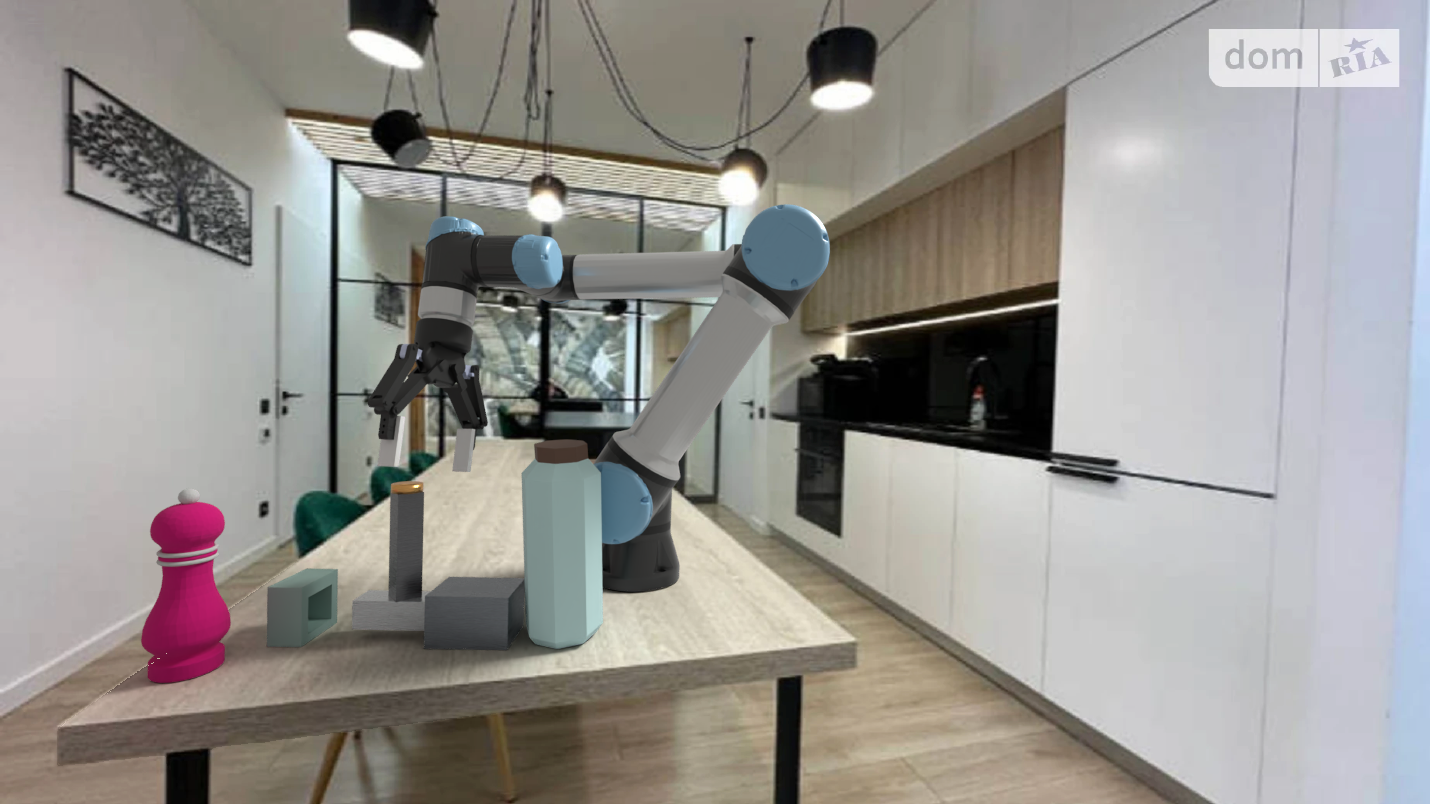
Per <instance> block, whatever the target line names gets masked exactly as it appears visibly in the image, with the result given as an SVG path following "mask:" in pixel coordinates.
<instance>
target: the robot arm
mask: <svg viewBox="0 0 1430 804" xmlns="http://www.w3.org/2000/svg"><path fill="white" fill-rule="evenodd" d="M829 238H830V237H829V233H828V231H827V229H826V227H825V225H824V224H823V222H822V221H821V219H820V218H818V216H817V215H816V214H814V213H813V212H812V211H810V210H809V209H806V208H805V207H803V206H800V205H795V204H789V203H788V204H786V203H785V204H784V203H783V204H777V205H773V206H769V207H768V208H766V209H763V210H762V211H760V212H759V213H757V215H755V217H754V218H753V219H752V220H751V221H750V222H749V224H748V225H747V227H746V229H745V231H744V234H743V235H742V239H741V243H733V244H731V245H730V246H729V247H728V248H727V249H726V250H702V251H700V250H699V251H664V252H657V251H656V252H629V253H627V252H626V253H624V252H622V253H621V252H620V253H619V252H618V253H587V254H586V253H584V254H582V253H581V254H580V253H579V254H562V251H561V249H560V247H559V245H558V242H557V240H555V239H554V238H553V237H551V236H544V235H536V234H531V233H530V234H529V233H528V234H524V235H523V234H522V235H515V234H514V235H499V234H498V235H490V234H489V235H487V234H486V235H485V233H484V230H483V229H482V228H481V227H480V226H479V225H478V224H477V223H475V222H473V221H472V220H470V219H466V218H459V217H456V216H448V215H447V216H445V215H444V216H441V217H437V218H435V219H434V220H433V221H432V223H431V224H430V228H429V232H428V238H427V241H426V243H425V247H424V248H425V249H424V250H425V257H424V268H423V276H422V277H423V278H422V284H421V289H420V295H419V296H420V297H419V303H418V311H417V316H418V318H420V319H419V320H417V321H416V323H415V324H416V325H415V331H414V332H415V333H414V339H413V343H400V344H399V343H398V345H397V346H396V349H395V353H394V358H393V360H392V361H391V363H390V364H389V366H388V368H387V369H386V371H385V373H384V374H383V376H382V377H381V379H380V381H379V382H378V384H376V387H375V389H374V390H373V391H372V394H370V396H369V398H368V399H367V406H368V407H370V408H373V412H374V414H376V415H378V416H380V418H379V426H378V434H377V435H378V439H379V440H380V443H379V444H380V445H379V451H378V457H377V458H378V459H377V467H378V466H379V467H396V468H397V467H400V461H401V460H400V459H401V453H402V447H403V446H402V445H403V439H404V432H405V431H404V430H405V423H406V416H403V415H400V414H401V413H402V412H403V411H404V409H405V408H406V407H407V406H408V405H410V404H411V402H412V401H413V400H414V399H415V398H416V397H417V395H418V394H419V393H420V392H422V391H423V389H425V387H426V386H427V385H431V386H432V385H433V386H435V387H437V388H438V389H439V388H441V389H442V391H443V392H445V394H447V396H448V398H449V401H450V402H451V405H452V407H453V410H454V412H455V415H456V417H457V419H458V422H459V424H460V426H461V428H456V434H455V435H456V437H455V444H454V445H455V446H454V454H453V460H452V461H453V462H452V472H456V473H457V472H460V473H471V472H472V471H471V470H472V464H473V463H472V462H473V453H474V450H475V448H476V440H477V431H478V430H483V429H484V428H486V427H488V425H489V424H488V423H489V421H488V417H487V411H486V406H485V402H484V397H483V392H482V388H481V387H482V386H481V383H480V371H481V370H480V368H481V367H480V366H479V365H478V364H470V365H469V364H466V362H465V360H466V359H465V357H466V355H468V354H469V353H470V351H471V350H472V342H473V335H474V334H473V333H474V331H473V329H472V327H473V326H474V324H475V320H476V319H475V318H476V310H477V309H476V308H477V297H478V292H479V288H480V287H483V288H512V289H513V288H514V289H518V290H520V291H522V292H525V293H528V294H530V295H532V296H534V297H536V298H538V299H541V300H542V301H544V302H546V303H549V304H550V303H551V304H566V303H568V302H570V301H577V300H578V301H579V300H618V299H619V300H623V299H624V300H625V299H626V300H627V299H629V300H630V299H632V300H633V299H686V298H687V299H689V298H690V299H691V298H692V299H697V298H698V299H699V298H702V299H703V298H704V299H705V298H706V299H707V298H717V300H716V302H715V303H714V304H713V306H712V307H711V309H710V310H709V311H708V314H707V315H706V316H705V318H704V319H703V321H702V322H701V323H700V325H699V326H698V328H697V329H696V330H695V332H694V333H693V335H692V337H691V338H690V339H689V341H688V342H687V344H686V345H685V347H684V349H683V350H682V352H681V353H680V354H679V356H678V358H677V359H676V360H675V362H674V363H673V365H672V366H671V367H670V369H669V370H668V372H667V373H666V375H665V377H664V378H663V379H662V381H661V383H660V384H659V386H658V387H657V389H655V391H654V393H653V394H652V396H651V397H650V398H649V400H648V401H647V403H646V404H645V406H644V407H643V409H642V410H641V412H640V413H639V414H638V416H637V418H636V419H635V420H634V422H633V423H632V425H631V426H630V428H628V429H624V430H621V431H616V432H615V431H614V433H613V435H612V436H611V437H610V438H609V440H608V442H607V443H606V444H605V446H604V448H603V449H602V450H601V452H600V453H599V455H598V456H597V458H596V459H595V461H594V462H592V463H593V464H594V466H595V467H596V468H597V469H598V470H599V471H600V472H601V517H602V588H604V589H607V590H611V591H612V590H613V591H617V592H618V591H619V592H620V591H621V592H647V591H654V590H655V591H656V590H659V589H664V588H667V587H669V586H671V585H673V584H676V582H678V580H679V579H680V570H681V568H680V566H681V565H680V560H679V558H678V554H677V550H676V547H675V542H674V539H673V536H672V529H671V527H672V526H671V525H672V503H673V502H672V501H673V488H674V487H675V486H676V484H677V483H678V481H679V480H680V479H681V473H680V472H681V471H680V466H679V461H680V460H681V459H682V457H683V456H684V454H685V453H686V452H687V450H688V449H689V448H690V446H691V444H692V443H693V442H694V440H695V438H696V437H697V436H698V434H699V433H700V431H701V430H702V429H703V427H704V425H705V424H706V423H707V421H708V420H709V419H710V417H711V415H712V414H713V413H714V411H715V410H716V408H717V407H718V405H719V404H720V402H721V401H722V399H723V398H724V397H725V395H726V394H727V392H728V391H729V390H730V388H731V387H732V386H733V384H734V382H735V381H736V379H737V378H738V376H739V375H740V373H741V372H742V371H743V369H744V368H745V366H746V365H747V364H748V362H749V360H750V359H751V358H752V356H753V355H754V353H755V351H756V350H757V349H758V348H759V346H760V344H761V343H762V342H763V340H764V339H765V337H766V336H767V334H768V333H769V331H770V330H771V329H772V328H773V327H774V326H780V325H783V324H787V323H788V322H789V321H790V320H791V318H792V317H793V316H794V314H795V312H796V311H797V310H798V308H799V307H800V306H801V304H802V303H803V301H804V300H805V299H806V297H807V295H809V294H810V293H811V292H812V290H813V289H814V288H815V286H816V284H817V282H818V280H819V279H820V278H821V277H822V275H823V274H824V272H825V270H826V269H827V267H828V264H829V260H830V252H831V250H830V247H831V246H830V239H829ZM415 365H416V367H415V368H414V369H413V367H414V366H415Z"/></svg>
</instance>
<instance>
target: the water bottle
mask: <svg viewBox="0 0 1430 804" xmlns="http://www.w3.org/2000/svg"><path fill="white" fill-rule="evenodd" d="M533 447H534V459H533V460H532V461H531V462H529V463H530V464H528V465H527V467H525V469H524V470H523V471H522V472H521V499H522V501H521V503H522V504H521V505H522V536H523V537H522V538H523V541H522V542H523V569H524V570H523V572H524V573H523V575H524V576H523V577H524V580H525V599H524V616H525V626H526V630H527V633H528V637H529V638H530V640H531V641H532V642H533V643H534V644H535V645H538V646H541V647H547V648H550V649H555V650H559V649H564V648H569V647H574V646H579V645H584V644H585V642H587V641H588V640H589V639H590V638H591V637H592V636H594V634H596V633H597V631H599V629H600V627H601V626H602V625H603V623H604V611H603V610H604V603H603V601H604V599H603V598H604V597H603V593H604V592H603V587H602V517H601V472H600V471H599V470H598V469H597V468H596V467H595V466H594V464H593V463H594V462H592V460H591V459H589V452H588V451H589V448H588V443H587V442H586V441H584V440H582V439H581V440H580V439H579V440H577V439H553V440H543V441H540V442H536V443H534V444H533Z"/></svg>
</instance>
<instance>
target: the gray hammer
mask: <svg viewBox="0 0 1430 804" xmlns="http://www.w3.org/2000/svg"><path fill="white" fill-rule="evenodd" d="M389 494H390V496H389V501H390V502H389V503H390V505H389V542H388V543H389V549H388V552H389V554H388V589H386V590H382V589H380V590H379V589H374V590H373V589H368V590H367V591H365V592H364V593H362V594H361V595H359V596H358V597H356V598H354V599H353V600H352V602H351V603H352V605H351V607H352V608H351V610H352V612H351V630H362V631H363V630H368V631H373V630H377V631H378V630H379V631H423V632H424V614H425V596H426V595H427V594H428V593H429V592H431V591H432V590H429V591H428V590H424V591H423V568H424V567H423V565H424V564H423V562H424V561H423V559H424V558H423V557H424V552H423V551H424V523H425V522H424V518H425V517H424V511H425V507H424V506H425V504H424V503H425V492H424V482H422V481H419V480H417V481H416V480H415V481H414V480H413V481H412V480H411V481H410V480H407V481H397V482H396V481H395V482H392V483H391V484H390V493H389Z"/></svg>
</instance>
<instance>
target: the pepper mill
mask: <svg viewBox="0 0 1430 804" xmlns="http://www.w3.org/2000/svg"><path fill="white" fill-rule="evenodd" d="M200 497H201V494H200V492H199V490H197V489H196V488H186V489H183V490H181V491H180V492H179V493H178V496H177V500H178V502H179V503H176V504H173V505H170V506H168V507H165V508H164V509H162V510H160V512H158V513H157V514H156V515H155V516H154V518H153V520H152V522H151V524H150V529H149V533H150V534H149V535H150V538H151V540H152V541H153V542H154V543H155V544H156V545H158V546H159V547H160V549H159V550H157V552H156V556H157V560H156V562H155V563H156V564H157V565H158V566H160V567H161V571H162V573H161V574H162V578H161V579H162V580H161V585H160V590H159V593H158V596H157V598H156V601H155V603H154V605H153V607H152V609H151V610H150V611H149V614H148V615H147V617H146V619H145V622H144V625H143V627H142V631H141V640H140V643H141V647H142V648H143V649H144V650H145V651H146V652H147V653H150V654H151V655H152V656H151V658H149V660H148V661H147V671H146V672H147V679H148V680H149V681H150V682H153V683H155V684H157V683H159V684H167V683H170V684H172V683H177V682H178V683H179V682H183V681H187V680H192V679H195V678H198V677H201V676H204V675H206V674H208V673H211V672H213V671H215V670H216V669H218V668H220V667H221V666H222V665H223V664H224V662H225V660H226V654H225V653H226V645H225V644H224V643H222V642H221V640H223V638H224V637H226V635H227V634H228V633H229V632H230V629H231V625H232V622H231V621H232V620H231V612H230V610H229V608H228V605H227V604H226V603H227V602H225V600H224V599H223V597H222V595H221V594H220V592H219V590H218V588H217V585H216V582H215V575H214V562H215V559H216V558H217V557H218V556H219V554H220V553H219V551H218V549H219V547H220V545H219V543H217V542H216V540H217V539H218V538H219V537H220V536H221V535H222V534H223V532H224V529H225V527H226V526H225V524H226V521H225V516H224V514H223V512H222V510H220V509H219V508H218V507H217V506H215V505H214V504H211V503H208V502H202V501H199V500H200ZM166 653H167V654H166ZM157 658H160V659H157ZM153 662H154V663H153ZM151 663H153V664H151ZM148 665H149V666H148Z"/></svg>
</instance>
